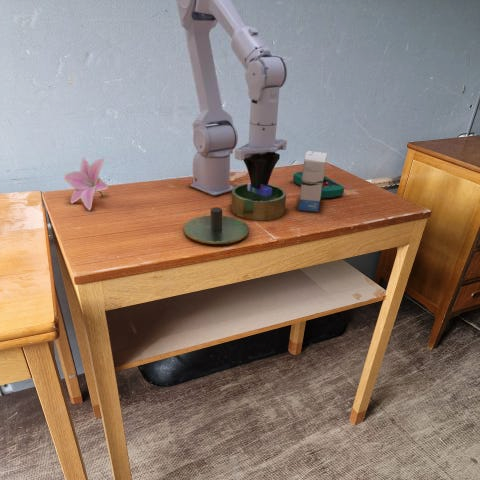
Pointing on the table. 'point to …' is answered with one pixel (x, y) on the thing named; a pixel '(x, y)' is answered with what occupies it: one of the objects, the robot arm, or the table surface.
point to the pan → (258, 203)
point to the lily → (86, 182)
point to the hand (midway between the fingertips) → (259, 186)
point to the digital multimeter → (328, 187)
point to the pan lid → (216, 228)
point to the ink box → (312, 181)
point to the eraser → (260, 190)
